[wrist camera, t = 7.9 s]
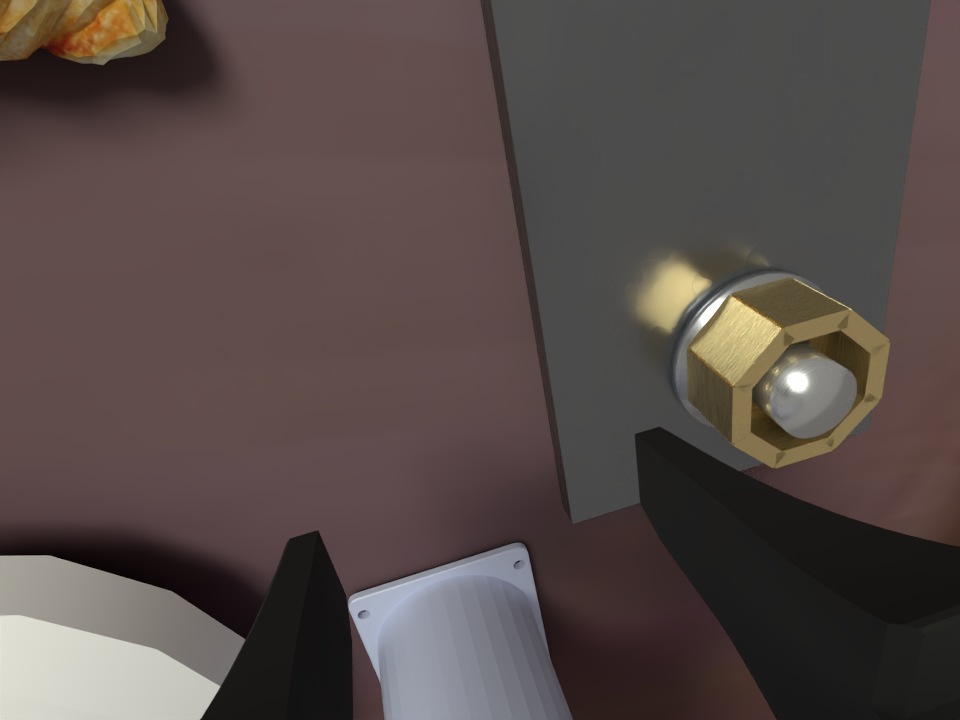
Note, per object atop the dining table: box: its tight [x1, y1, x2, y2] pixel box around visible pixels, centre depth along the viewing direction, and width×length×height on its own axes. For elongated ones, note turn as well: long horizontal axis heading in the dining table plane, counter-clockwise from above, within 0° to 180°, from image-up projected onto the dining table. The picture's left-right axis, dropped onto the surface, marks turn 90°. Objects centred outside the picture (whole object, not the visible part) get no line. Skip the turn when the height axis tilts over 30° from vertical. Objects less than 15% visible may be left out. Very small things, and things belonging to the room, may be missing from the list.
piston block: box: [481, 0, 931, 524], centre depth 22 cm, size 20×14×5 cm
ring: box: [687, 277, 890, 469], centre depth 23 cm, size 6×6×3 cm
